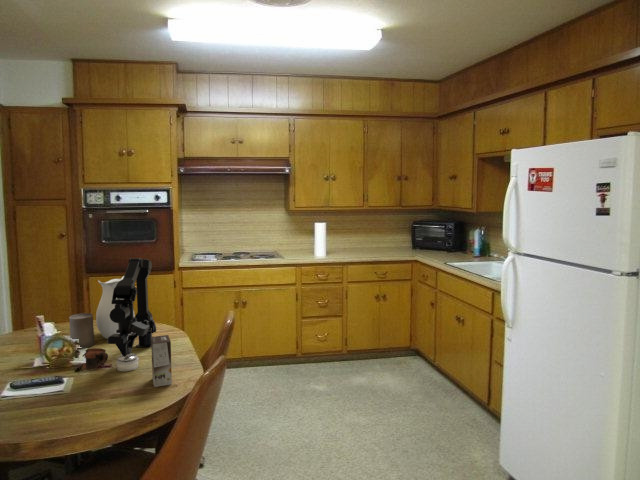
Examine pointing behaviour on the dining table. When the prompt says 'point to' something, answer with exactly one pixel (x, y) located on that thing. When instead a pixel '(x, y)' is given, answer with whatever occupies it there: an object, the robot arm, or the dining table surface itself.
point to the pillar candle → (82, 329)
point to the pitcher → (107, 309)
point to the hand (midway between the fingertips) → (127, 354)
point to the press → (127, 365)
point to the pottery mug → (95, 358)
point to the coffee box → (161, 360)
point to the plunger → (127, 356)
